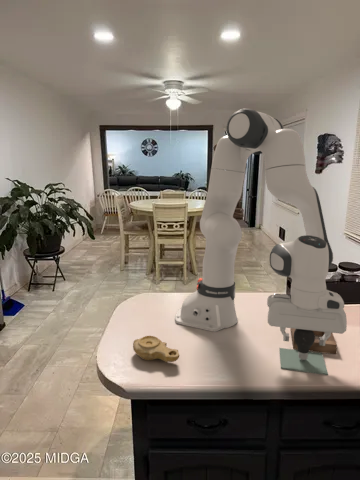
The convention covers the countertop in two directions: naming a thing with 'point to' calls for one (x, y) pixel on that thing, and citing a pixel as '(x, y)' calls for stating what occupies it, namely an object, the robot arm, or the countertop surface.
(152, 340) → the oil lamp
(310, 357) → the rubber mat
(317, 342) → the socket block
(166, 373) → the countertop surface
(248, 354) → the countertop surface
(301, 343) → the light bulb
